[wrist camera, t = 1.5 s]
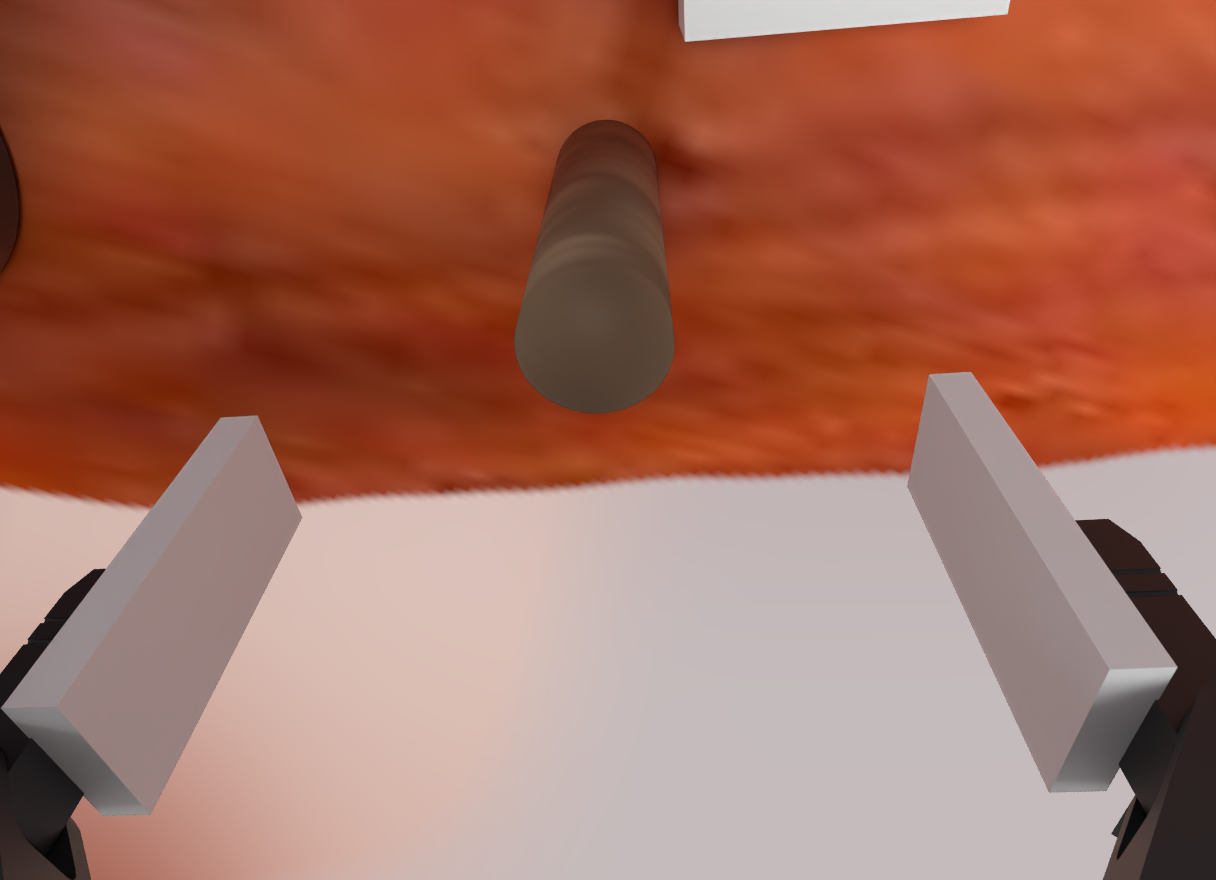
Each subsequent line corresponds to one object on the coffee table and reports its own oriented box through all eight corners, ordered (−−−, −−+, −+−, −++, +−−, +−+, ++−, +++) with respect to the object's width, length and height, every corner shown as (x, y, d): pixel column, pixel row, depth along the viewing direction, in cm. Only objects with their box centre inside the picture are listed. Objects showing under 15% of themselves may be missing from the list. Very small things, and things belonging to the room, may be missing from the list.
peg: (562, 225, 31) (526, 417, 20) (550, 124, 29) (502, 278, 18) (658, 218, 31) (677, 409, 20) (654, 116, 29) (672, 267, 18)
